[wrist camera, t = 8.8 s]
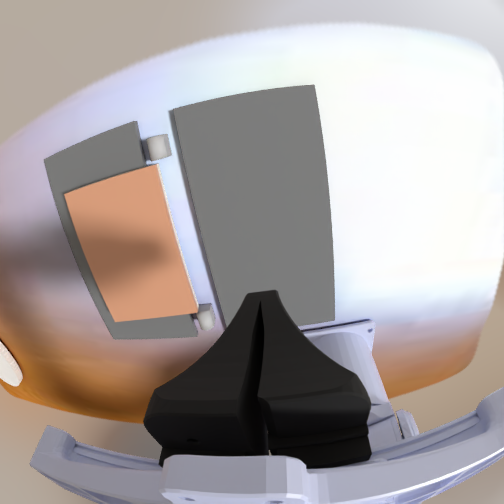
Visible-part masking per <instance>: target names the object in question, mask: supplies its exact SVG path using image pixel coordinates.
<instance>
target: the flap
mask: <svg viewBox="0 0 504 504" xmlns="http://www.w3.org/2000/svg"><path fill="white" fill-rule="evenodd" d="M64 196H65V199H66V202H67V206H68V209H69V212H70V215H71V218H72V221H73V224H74V227H75V230H76V233H77V236H78V238H79V241H80V244H81V247H82V249H83V252H84V254H85V257H86V259H87V262H88V264H89V267H90V269H91V272H92V274H93V276H94V279H95V281H96V283H97V285H98V288H99V290H100V292H101V294H102V296H103V299H104V301H105V303H106V305H107V307H108V309H109V311H110V313H111V315H112V317H113V319H114V321H115V322H121V321H131V320H141V319H150V318H159V317H167V316H175V315H183V314H191V313H197V312H198V307H199V305H198V302H197V298H196V295H195V292H194V289H193V286H192V283H191V280H190V277H189V273H188V270H187V267H186V264H185V260H184V257H183V254H182V250H181V247H180V243H179V240H178V236H177V233H176V229H175V226H174V222H173V218H172V215H171V211H170V207H169V203H168V199H167V196H166V192H165V188H164V184H163V180H162V175H161V171H160V167H159V163H157V164H154V165H150V166H146V167H143V168H139V169H136V170H133V171H129V172H126V173H123V174H119V175H116V176H113V177H110V178H107V179H104V180H101V181H98V182H95V183H92V184H89V185H86V186H83V187H81V188H78V189H75V190H73V191H70V192H68V193H66V194H64Z"/></svg>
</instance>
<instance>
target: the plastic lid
mask: <svg viewBox="0 0 504 504" xmlns="http://www.w3.org/2000/svg"><path fill="white" fill-rule="evenodd" d="M0 378H1V379H2V380H3V381H5V382H7V383H9V384H10V385H12V386H18V385H19V384H20V382H21V380H22V379H23V377H22V372H21V370H20V368H19V366H18V365H17V363H16V361H15V360H14V358H13V357H12V355H11V354H10V352H8V350H7V349H6V348H5V346H4V345H3V344H2V343H1V342H0Z"/></svg>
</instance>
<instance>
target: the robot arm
mask: <svg viewBox="0 0 504 504" xmlns="http://www.w3.org/2000/svg"><path fill="white" fill-rule="evenodd" d="M370 328H371V329H370ZM369 329H370V330H369ZM374 332H375V322H374V321H373V320H369V321H364V322H359V323H354V324H348V325H343V326H337V327H331V328H325V329H319V330H312V331H306V332H301V330H300V329H299V328H298V327H297V325H296V324H295V323H294V322H293V320H292V319H291V317H290V316H289V314H288V312H287V311H286V309H285V308H284V306H283V304H282V302H281V299H280V297H279V293H278V291H277V290H268V291H260V292H253V293H247V295H246V296H245V298H244V300H243V302H242V304H241V306H240V308H239V309H238V311H237V313H236V314H235V316H234V318H233V319H232V321H231V322H230V324H229V325H228V327H227V328H226V330H225V331H224V332H223V334H222V335H221V336H220V338H219V339H218V340H217V341H216V343H215V344H214V345H213V346H212V347H211V348H210V349H209V350H208V351H207V352H206V353H205V354H204V355H203V356H202V357H201V358H200V359H199V360H198V361H197V362H195V363H194V364H193V365H192V366H191V367H189V368H188V369H187V370H185V371H184V372H183V373H181V374H180V375H178V376H177V377H175V378H174V379H172V380H170V381H169V382H167V383H165V384H164V385H162V386H160V387H158V388H157V389H155V390H154V393H153V395H152V397H151V399H150V402H149V405H148V408H147V411H146V414H145V417H144V420H143V422H144V426H145V428H146V429H147V430H148V432H149V433H150V434H151V435H152V436H153V437H154V439H156V441H157V442H158V443H159V444H160V445H161V446H162V451H161V456H160V460H157V459H150V458H144V457H138V456H133V455H128V454H123V453H119V452H114V451H109V450H106V449H102V448H98V447H94V446H91V445H87V444H84V443H81V442H77V441H76V440H75V439H74V438H73V437H72V436H71V435H70V434H68V433H67V432H65V431H63V430H61V429H58V428H55V427H52V426H49V425H47V427H46V429H45V431H44V433H43V435H42V437H41V439H40V441H39V443H38V446H37V448H36V450H35V452H34V454H33V457H32V459H31V462H30V466H31V467H33V468H34V469H36V470H37V471H38V472H40V473H41V474H42V475H44V476H45V477H47V478H48V479H50V480H51V481H53V482H54V483H56V484H58V485H59V486H61V487H63V488H64V489H66V490H68V491H70V492H73V493H75V494H77V495H80V496H82V497H84V498H86V499H89V500H91V501H94V502H96V503H99V504H421V503H422V502H423V501H424V500H427V499H429V498H431V497H433V496H435V495H438V494H440V493H442V492H444V491H446V490H448V489H450V488H452V487H454V486H456V485H457V484H459V483H461V482H463V481H465V480H467V479H468V478H470V477H472V476H474V475H475V474H477V473H479V472H480V471H482V470H484V469H486V468H487V467H489V466H490V465H492V464H494V463H495V462H497V461H498V460H500V459H501V458H502V457H503V456H504V387H502V388H500V389H498V390H497V391H495V392H493V393H491V394H489V395H488V396H486V397H485V398H484V399H483V400H482V401H481V402H480V403H479V405H478V407H477V408H476V410H475V411H472V412H470V413H468V414H466V415H464V416H462V417H460V418H458V419H455V420H453V421H451V422H449V423H446V424H444V425H442V426H439V427H437V428H434V429H432V430H429V431H426V432H424V433H421V434H419V432H418V429H417V426H416V423H415V421H414V419H413V416H412V414H411V413H410V412H408V411H404V410H403V409H400V410H398V411H396V414H397V418H398V421H399V426H400V430H401V433H402V435H401V433H400V430H399V427H398V423H397V421H396V418H395V415H394V412H393V409H392V406H391V403H390V402H389V401H388V398H387V395H386V392H385V389H384V386H383V384H382V381H381V378H380V375H379V373H378V370H377V367H376V365H375V362H374V359H373V357H372V354H371V353H372V347H373V340H374ZM269 450H270V452H271V455H272V456H269Z"/></svg>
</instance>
